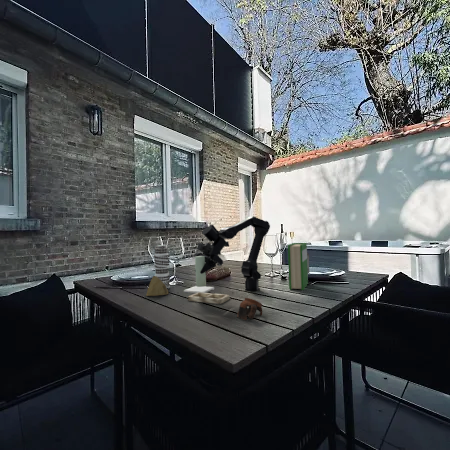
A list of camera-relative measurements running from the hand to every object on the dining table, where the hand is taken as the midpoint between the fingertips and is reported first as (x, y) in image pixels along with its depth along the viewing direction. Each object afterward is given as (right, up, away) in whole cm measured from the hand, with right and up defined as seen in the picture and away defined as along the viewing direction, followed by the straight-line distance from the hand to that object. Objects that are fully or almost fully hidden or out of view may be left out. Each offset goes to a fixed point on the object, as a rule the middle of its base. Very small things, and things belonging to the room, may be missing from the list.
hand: (198, 272), depth 139 cm
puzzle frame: (+5, -13, -1) cm, 14 cm away
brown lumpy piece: (+23, -13, -27) cm, 38 cm away
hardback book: (+54, -12, +24) cm, 60 cm away
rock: (-23, -14, +15) cm, 31 cm away
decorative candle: (-24, -14, +32) cm, 43 cm away
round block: (+1, -6, +1) cm, 7 cm away
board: (-1, -14, +20) cm, 24 cm away
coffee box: (+64, -12, +47) cm, 80 cm away
